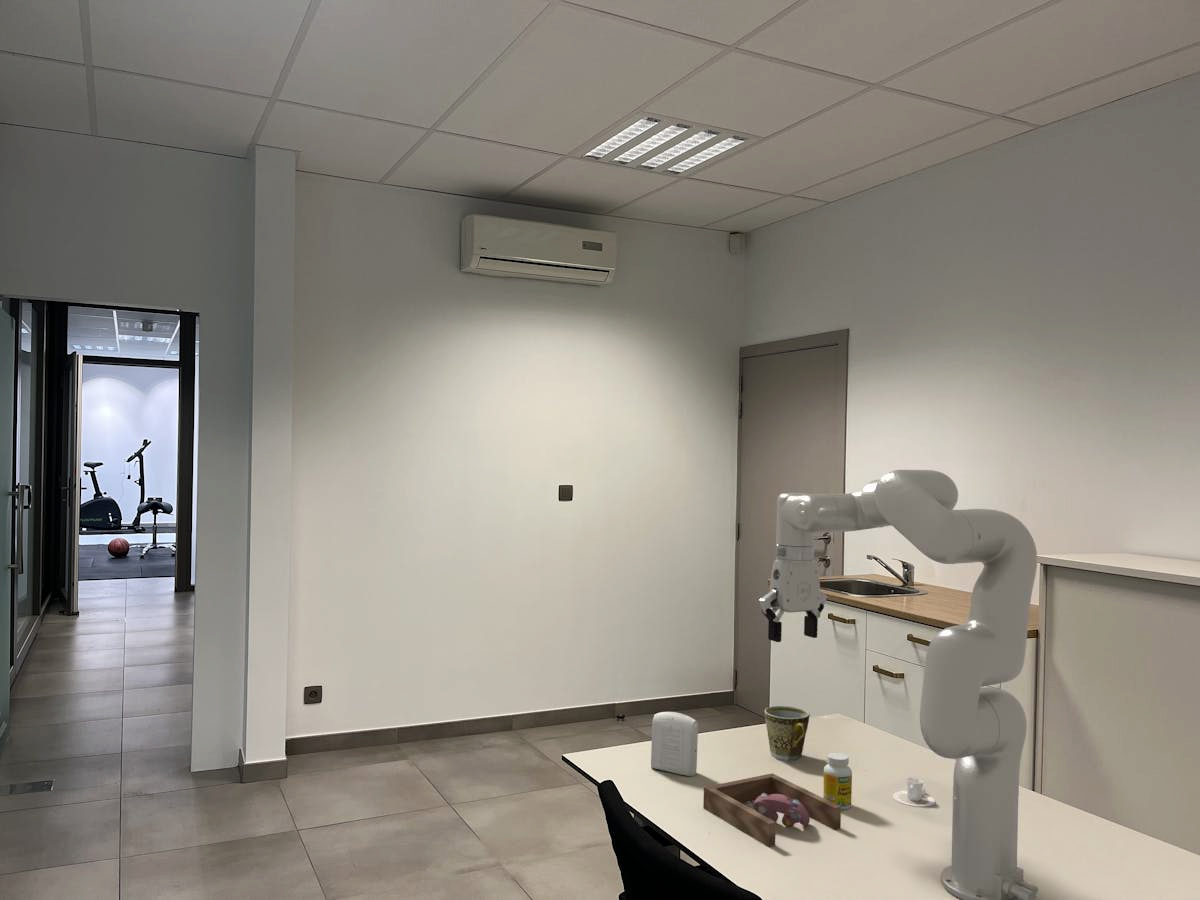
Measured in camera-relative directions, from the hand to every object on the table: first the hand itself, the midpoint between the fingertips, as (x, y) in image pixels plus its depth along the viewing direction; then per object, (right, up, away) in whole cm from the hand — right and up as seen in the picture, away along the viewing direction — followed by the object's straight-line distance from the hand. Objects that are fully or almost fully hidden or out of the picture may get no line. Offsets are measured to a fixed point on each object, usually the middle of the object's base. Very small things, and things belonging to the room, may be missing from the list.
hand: (792, 638), depth 181 cm
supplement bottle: (+7, -32, -6) cm, 33 cm away
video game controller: (-5, -31, -15) cm, 35 cm away
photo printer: (-23, -31, +11) cm, 40 cm away
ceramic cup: (+4, -32, +21) cm, 38 cm away
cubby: (-7, -31, -13) cm, 34 cm away
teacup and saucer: (+27, -32, -2) cm, 42 cm away
